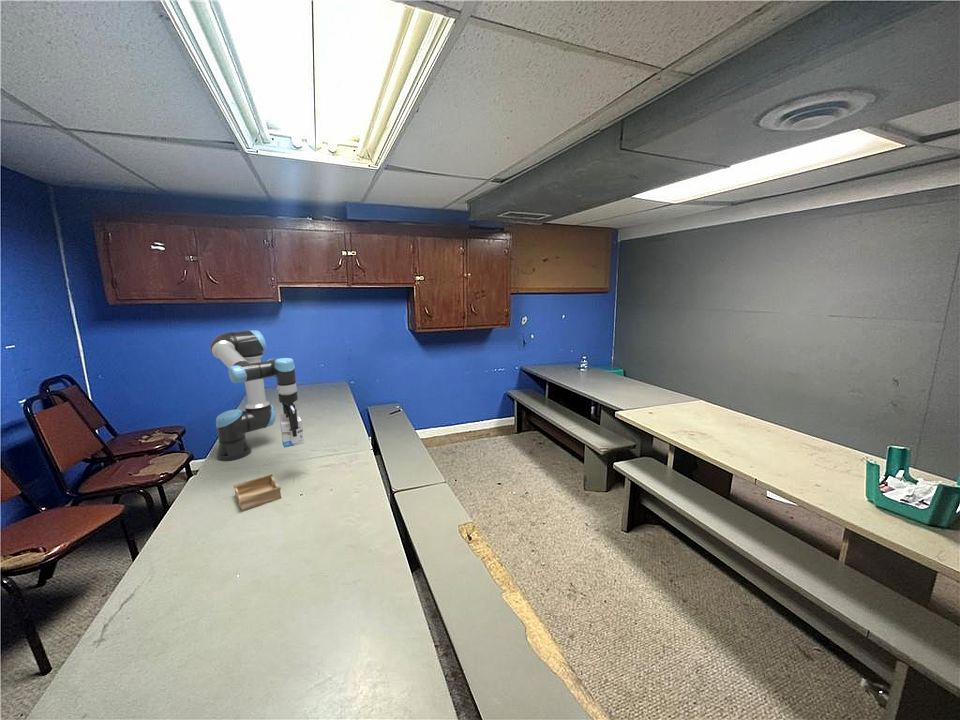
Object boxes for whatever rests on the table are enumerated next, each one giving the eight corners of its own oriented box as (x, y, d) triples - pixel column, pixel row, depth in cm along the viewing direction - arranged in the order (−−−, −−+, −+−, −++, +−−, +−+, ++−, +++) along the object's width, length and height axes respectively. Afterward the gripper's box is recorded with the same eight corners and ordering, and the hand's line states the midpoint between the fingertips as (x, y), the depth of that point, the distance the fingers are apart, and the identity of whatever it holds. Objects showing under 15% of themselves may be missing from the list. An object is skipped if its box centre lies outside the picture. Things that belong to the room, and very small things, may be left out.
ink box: (283, 448, 166) (280, 417, 162) (282, 444, 170) (278, 414, 167) (304, 443, 170) (301, 413, 167) (302, 439, 174) (299, 410, 171)
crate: (235, 496, 158) (233, 485, 157) (273, 483, 168) (271, 473, 167) (241, 512, 147) (239, 501, 146) (281, 498, 157) (280, 487, 156)
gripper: (273, 389, 169) (278, 436, 174) (284, 399, 155) (290, 449, 161) (290, 386, 174) (295, 431, 179) (303, 395, 160) (308, 444, 166)
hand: (293, 440), depth 170 cm, fingers closed on ink box, 5 cm apart
